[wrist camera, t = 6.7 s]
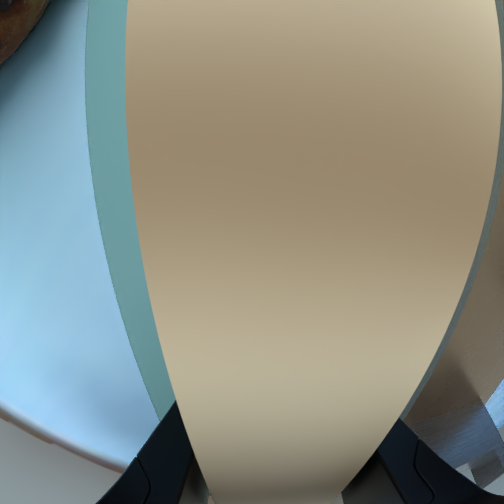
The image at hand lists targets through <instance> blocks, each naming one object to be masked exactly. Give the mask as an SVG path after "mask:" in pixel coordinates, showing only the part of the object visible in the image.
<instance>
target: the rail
mask: <svg viewBox="0 0 504 504" xmlns="http://www.w3.org/2000/svg"><path fill="white" fill-rule="evenodd" d="M125 101H126V125H127V141H128V154H129V165H130V176H131V185H132V194H133V202H134V210H135V217H136V224H137V231H138V237H139V244H140V250H141V255H142V261H143V267H144V272H145V277H146V282H147V287H148V292H149V297H150V302H151V306H152V311H153V315H154V320H155V324H156V328H157V332H158V336H159V341H160V344H161V348H162V352H163V356H164V360H165V363H166V367H167V371H168V374H169V378H170V381H171V385H172V388H173V391H174V395H175V398H176V401H177V404H178V407H179V410H180V414H181V417H182V420H183V423H184V426H185V429H186V431H187V434H188V437H189V440H190V443H191V446H192V448H193V451H194V454H195V456H196V459H197V462H198V464H199V467H200V469H201V472H202V474H203V477H204V479H205V482H206V484H207V487H208V489H209V491H210V494H211V496H212V498H213V501H214V502H215V504H331V503H332V501H333V500H334V499H335V498H336V497H337V496H338V495H339V494H340V493H341V492H342V491H343V489H344V488H345V487H346V486H347V485H348V484H349V483H350V481H351V480H352V479H353V478H354V477H355V476H356V474H357V473H358V472H359V471H360V469H361V468H362V467H363V466H364V465H365V463H366V462H367V461H368V459H369V458H370V457H371V456H372V454H373V453H374V452H375V450H376V449H377V448H378V446H379V445H380V444H381V442H382V441H383V439H384V438H385V437H386V435H387V434H388V432H389V431H390V429H391V428H392V426H393V425H394V423H395V422H396V420H397V419H398V417H399V416H400V414H401V413H402V411H403V410H404V408H405V407H406V405H407V403H408V402H409V400H410V398H411V397H412V395H413V393H414V392H415V390H416V388H417V387H418V385H419V383H420V381H421V380H422V378H423V376H424V374H425V372H426V370H427V369H428V367H429V365H430V363H431V361H432V359H433V357H434V355H435V353H436V351H437V349H438V347H439V345H440V343H441V341H442V339H443V337H444V334H445V332H446V330H447V328H448V326H449V323H450V321H451V319H452V316H453V314H454V312H455V309H456V307H457V304H458V302H459V299H460V297H461V294H462V292H463V289H464V286H465V283H466V281H467V278H468V275H469V272H470V269H471V266H472V263H473V260H474V257H475V254H476V250H477V247H478V244H479V240H480V237H481V233H482V229H483V225H484V221H485V217H486V213H487V209H488V204H489V200H490V195H491V190H492V185H493V179H494V173H495V167H496V160H497V153H498V144H499V135H500V123H501V106H502V63H501V46H500V35H499V26H498V18H497V11H496V5H495V0H128V5H127V20H126V42H125Z"/></svg>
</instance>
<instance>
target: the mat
mask: <svg viewBox="0 0 504 504" xmlns="http://www.w3.org/2000/svg"><path fill="white" fill-rule="evenodd" d="M127 5H128V0H89V8H88V18H87V32H86V54H85V95H86V118H87V133H88V145H89V155H90V164H91V173H92V180H93V187H94V194H95V201H96V207H97V213H98V218H99V224H100V229H101V234H102V239H103V244H104V249H105V253H106V258H107V262H108V267H109V271H110V275H111V279H112V283H113V287H114V291H115V294H116V298H117V302H118V305H119V309H120V312H121V316H122V319H123V322H124V326H125V329H126V332H127V335H128V338H129V341H130V344H131V347H132V350H133V353H134V356H135V359H136V362H137V365H138V367H139V370H140V373H141V376H142V378H143V381H144V383H145V386H146V389H147V391H148V394H149V396H150V399H151V401H152V403H153V406H154V408H155V411H156V413H157V415H158V418H159V420H160V421H161V420H162V418H163V417H164V416H165V414H166V413H167V411H168V410H169V408H170V407H171V406H172V404H173V403H174V401H175V400H176V398H175V395H174V391H173V388H172V385H171V381H170V378H169V374H168V371H167V367H166V363H165V360H164V356H163V352H162V348H161V344H160V341H159V336H158V332H157V328H156V324H155V320H154V315H153V311H152V306H151V302H150V297H149V292H148V287H147V282H146V277H145V272H144V267H143V261H142V255H141V250H140V244H139V237H138V231H137V224H136V217H135V210H134V202H133V194H132V185H131V176H130V165H129V154H128V141H127V125H126V101H125V42H126V20H127Z"/></svg>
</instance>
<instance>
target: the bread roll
mask: <svg viewBox="0 0 504 504" xmlns="http://www.w3.org/2000/svg"><path fill="white" fill-rule="evenodd" d="M49 1H50V0H0V65H1V64H2V63H4V62H5V61H6V60H7V59H8V58H9V57H10V56H11V55H12V54H13V53H14V52H15V51H16V50H17V48H18V47H19V46H20V44H21V43H22V42H23V41H24V39H25V38H26V37H27V36H28V34H29V33H30V32H31V30H32V29H33V28H34V26H35V25H36V24H37V22H38V21H39V20H40V18H41V17H42V15H43V13H44V11H45V9H46V7H47V5H48V3H49Z"/></svg>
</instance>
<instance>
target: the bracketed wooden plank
mask: <svg viewBox="0 0 504 504" xmlns="http://www.w3.org/2000/svg"><path fill="white" fill-rule="evenodd" d="M495 5H496V11H497V18H498V26H499V35H500V46H501V63H502V106H501V123H500V135H499V144H498V153H497V160H496V167H495V173H494V179H493V185H492V190H491V195H490V200H489V204H488V209H487V213H486V217H485V221H484V225H483V229H482V233H481V237H480V240H479V244H478V247H477V250H476V254H475V257H474V260H473V263H472V266H471V269H470V272H469V275H468V278H467V281H466V283H465V286H464V289H463V292H462V294H461V297H460V299H459V302H458V304H457V307H456V309H455V312H454V314H453V316H452V319H451V321H450V323H449V326H448V328H447V330H446V332H445V334H444V337H443V339H442V341H441V343H440V345H439V347H438V349H437V351H436V353H435V355H434V357H433V359H432V361H431V363H430V365H429V367H428V369H427V370H426V372H425V374H424V376H423V378H422V380H421V381H420V383H419V385H418V387H417V388H416V390H415V392H414V393H413V395H412V397H411V398H410V400H409V402H408V403H407V405H406V407H405V408H404V410H403V411H402V413H401V414H400V416H399V418H400V419H401V420H402V421H403V422H404V423H405V424H406V425H407V426H408V427H409V428H410V429H411V430H412V431H413V432H414V433H415V434H416V435H417V436H418V437H419V439H421V440H423V441H424V442H425V443H426V444H427V445H428V446H429V447H430V448H431V449H432V450H433V451H434V452H435V453H436V454H437V455H438V456H439V457H441V458H442V459H443V460H444V461H446V462H447V463H448V464H449V465H450V466H452V467H453V468H454V469H456V470H457V471H458V472H460V473H461V474H463V473H465V472H467V471H469V470H471V472H472V475H473V477H474V480H475V482H476V485H477V486H479V487H480V488H482V489H484V488H486V487H488V486H489V485H491V484H492V483H494V482H495V481H496V480H498V479H499V478H500V477H502V476H503V475H504V442H503V440H502V438H501V436H500V434H499V432H498V430H497V428H496V426H495V424H494V422H493V420H492V418H491V417H490V415H489V413H488V411H487V409H486V407H485V406H484V404H485V403H486V402H487V400H488V399H489V398H490V397H491V395H492V394H493V392H494V391H495V390H496V388H497V387H498V386H499V384H500V383H501V381H502V380H503V378H504V0H495Z"/></svg>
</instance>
